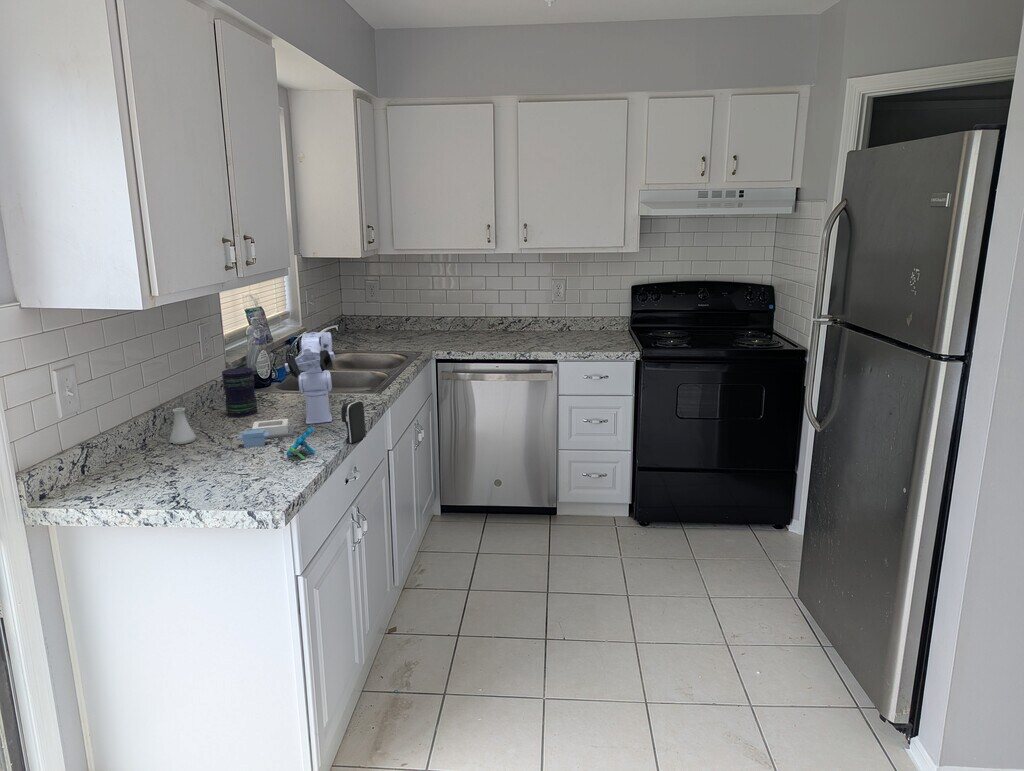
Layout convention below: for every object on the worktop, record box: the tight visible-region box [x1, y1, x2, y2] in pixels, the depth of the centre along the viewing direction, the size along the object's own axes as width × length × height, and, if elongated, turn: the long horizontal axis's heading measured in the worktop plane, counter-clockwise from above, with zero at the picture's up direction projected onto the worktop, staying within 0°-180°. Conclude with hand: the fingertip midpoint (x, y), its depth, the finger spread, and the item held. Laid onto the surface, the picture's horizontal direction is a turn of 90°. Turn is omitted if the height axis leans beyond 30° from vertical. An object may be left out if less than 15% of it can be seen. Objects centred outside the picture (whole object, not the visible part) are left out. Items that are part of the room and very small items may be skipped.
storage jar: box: [221, 367, 258, 419], centre depth 235 cm, size 10×10×15 cm
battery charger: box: [340, 400, 367, 444], centre depth 202 cm, size 7×4×11 cm, turn 157°
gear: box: [286, 426, 316, 460], centre depth 191 cm, size 11×6×10 cm
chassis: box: [249, 418, 295, 440], centre depth 212 cm, size 10×13×3 cm
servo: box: [237, 429, 270, 448], centre depth 202 cm, size 4×8×4 cm, turn 105°
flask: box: [168, 407, 198, 445], centre depth 206 cm, size 7×7×10 cm
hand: (308, 371), depth 202 cm, fingers open, 7 cm apart
